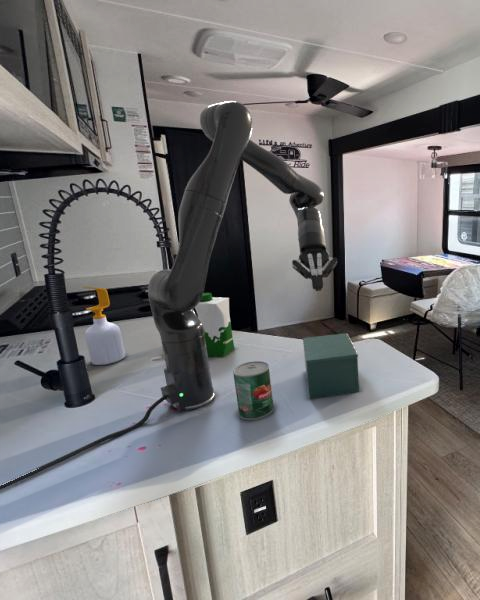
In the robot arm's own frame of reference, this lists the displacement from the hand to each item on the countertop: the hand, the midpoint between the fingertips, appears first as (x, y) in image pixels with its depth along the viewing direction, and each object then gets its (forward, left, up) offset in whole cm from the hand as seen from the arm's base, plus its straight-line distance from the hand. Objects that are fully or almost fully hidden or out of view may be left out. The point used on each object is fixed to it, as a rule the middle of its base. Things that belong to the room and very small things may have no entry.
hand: (318, 289), depth 102 cm
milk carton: (-10, +41, -25) cm, 49 cm away
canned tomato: (-23, -2, -25) cm, 34 cm away
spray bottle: (-35, +65, -25) cm, 78 cm away
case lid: (-2, -5, -15) cm, 16 cm away
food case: (-2, -5, -25) cm, 25 cm away
